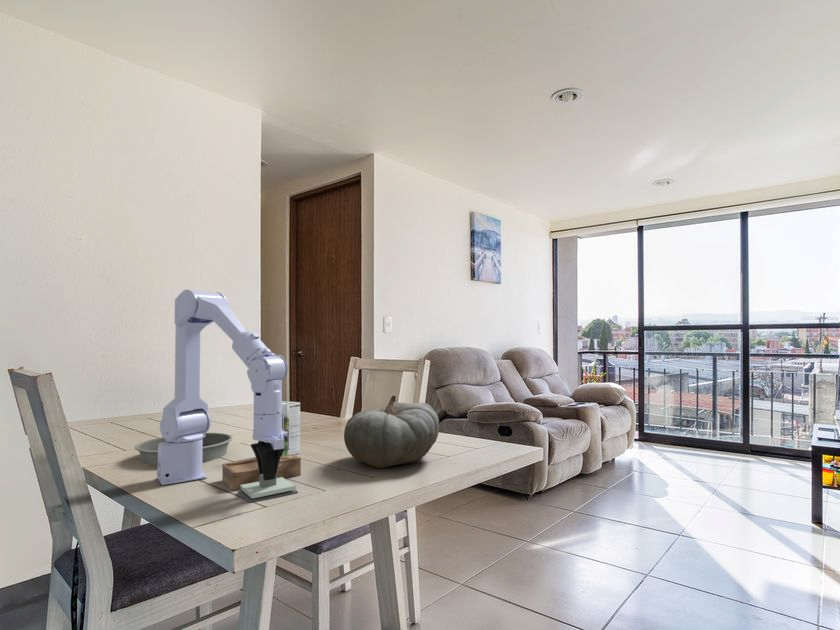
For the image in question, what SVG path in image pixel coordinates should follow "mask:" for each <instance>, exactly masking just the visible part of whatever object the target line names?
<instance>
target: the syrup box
mask: <svg viewBox="0 0 840 630" xmlns="http://www.w3.org/2000/svg"><path fill="white" fill-rule="evenodd" d="M282 431H286V432H287V436H283V439H284V445H285V450H284V451H283V453H282V456H283V455H290V454H294V455H296V456H297V455H298V454H301V401H299V402H298V401H284V400H282Z"/></svg>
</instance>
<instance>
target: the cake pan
mask: <svg viewBox="0 0 840 630" xmlns="http://www.w3.org/2000/svg"><path fill="white" fill-rule="evenodd" d="M233 438H234V437H233V436H232V435H231V434H227V433H222V432H207V433H205V437H203V445H202V463H204V462H205V463H206V462H211V461H213V460H217V459H220V458H222V457H224V456H225V455H226V454H227V452H228V448H229V443H230V442H232V440H233ZM163 442H167V441H166V439H164V437H163V436H161V437H156V438H152V439H149V440H145V441H144V440H143V441H142V442H139V443H138V444H136V445H135V446H134V449H135V450H136V451H137V452H139V456H140V458H141V463H142V464H144V463H145V465H147V464H148V465H147V466H152V465H153V467H154V466H155V467H158V445H159V443H163Z"/></svg>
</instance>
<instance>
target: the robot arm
mask: <svg viewBox="0 0 840 630" xmlns="http://www.w3.org/2000/svg"><path fill="white" fill-rule="evenodd" d="M230 304H231V303H230V300H228V299H227V298H226V296H225V294H223V293H222V292H218V291H217V292H211V291H200V290H199V291H197V290H191V289H184V290H182V291H181V292H180V293H179V294H178V296H177V297H176V298H174V326H175V335H174V336H175V338H174V339H175V341H174V342H175V345H174V348H175V349H174V352H175V353H174V354H175V355H174V359H175V360H174V362H175V363H174V398H173V399H172V400H171V401H170V402H169V403H167V404H166V405H165V406H164V407H163V408H162V417H161V420H160V423H159V430H160V431H159V432H160V434H161V437H164V439H166V441H167V442H163V443H159V445H158V466H157V468H156V475H157V476H156V478H157V480H158V481H159V483H160V484H161V486H165V485H172V484H177V483H185V482H190V481H195V480H196V481H197V480H203V479H207V478H208V475H207V474H206V473H205V472H204V471H203V462H202V445H203V437H205V433H209V430H210V428H211V423H212V421H211V416H210V414H209V404H208V402H206V401H205V400H204V399H202V398H201V397H200V393H201V391H200V390H201V389H200V387H201V386H200V385H201V382H200V381H201V331H203V330H204V329H205V328H206V327H207V326H209V325H211V324H212V323H214V324H216V325H217V326H218V328H220V329H221V330H222V331H223V332H224V333H225V334H226V335H227V336H228V338H229V339H230V340H232V345H231V348H232V350H233V351H234V353H235V354H236V356H237V357H238V358H239V359H240V360H241V361H242V363H243V364H244V365H245V366H246V367H247V370H246V373H247V374H246V375H247V378H248V380H249V382H250V384H251V386H250V387H251V391H252V393H253V429H252V440H254V441H257V442H256V443H255V442H254V443H251V444H250V448H251V450H252V451H253V454H254V456H255V459H257V463H258V468H259V472H260V474H263V477H264V480H272V479H275V477H276V473H277V468H278V464H279V460H280V458H281V455H282V453H283V451H284V450H285V445H284V439H283V436H287V432H286V431H282V401H283V383H282V382H283V380H285V379H286V377H287V374H288V371H289V368H288V367H289V366H288V364H287V361H286V359H285V358H284V356H283V355H281V354H280V355H279V354H275V353H274V352H272V350H271V349H270V348H268V347H267V346H266V344H265V343H264V342H263V340H261V339H260V337H261V336H260V335H259V334H258V333H257V332H253V331H246V329H245V328H244V326H243V325H242V322H240V321H239V319H238V318H237V316H236V315H235V313H234V312H233V311H232V309H231V308H230V306H231V305H230Z"/></svg>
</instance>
